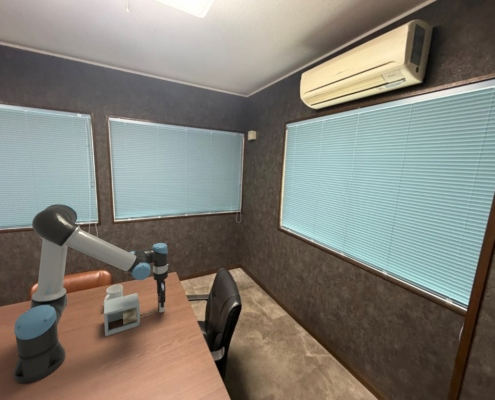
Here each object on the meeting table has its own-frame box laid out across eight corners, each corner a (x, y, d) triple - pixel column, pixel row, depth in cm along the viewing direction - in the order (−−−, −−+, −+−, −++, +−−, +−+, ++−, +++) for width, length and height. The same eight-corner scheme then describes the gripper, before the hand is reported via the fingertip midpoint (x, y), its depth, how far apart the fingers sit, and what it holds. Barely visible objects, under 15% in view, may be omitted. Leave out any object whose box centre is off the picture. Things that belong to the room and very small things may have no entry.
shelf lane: (105, 336, 104) (103, 313, 102) (105, 321, 114) (104, 300, 112) (140, 325, 112) (139, 304, 110) (138, 312, 122) (137, 292, 120)
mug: (110, 314, 119) (109, 297, 117) (97, 311, 121) (96, 294, 119) (126, 301, 131) (126, 286, 129) (115, 299, 132) (114, 283, 131)
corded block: (123, 324, 110) (122, 310, 109) (123, 317, 115) (122, 303, 114) (165, 311, 121) (165, 299, 120) (163, 305, 126) (163, 293, 125)
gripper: (171, 276, 114) (171, 316, 118) (164, 263, 128) (165, 299, 132) (155, 279, 110) (156, 320, 114) (151, 266, 124) (152, 303, 128)
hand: (161, 309), depth 123 cm, fingers closed on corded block, 3 cm apart
